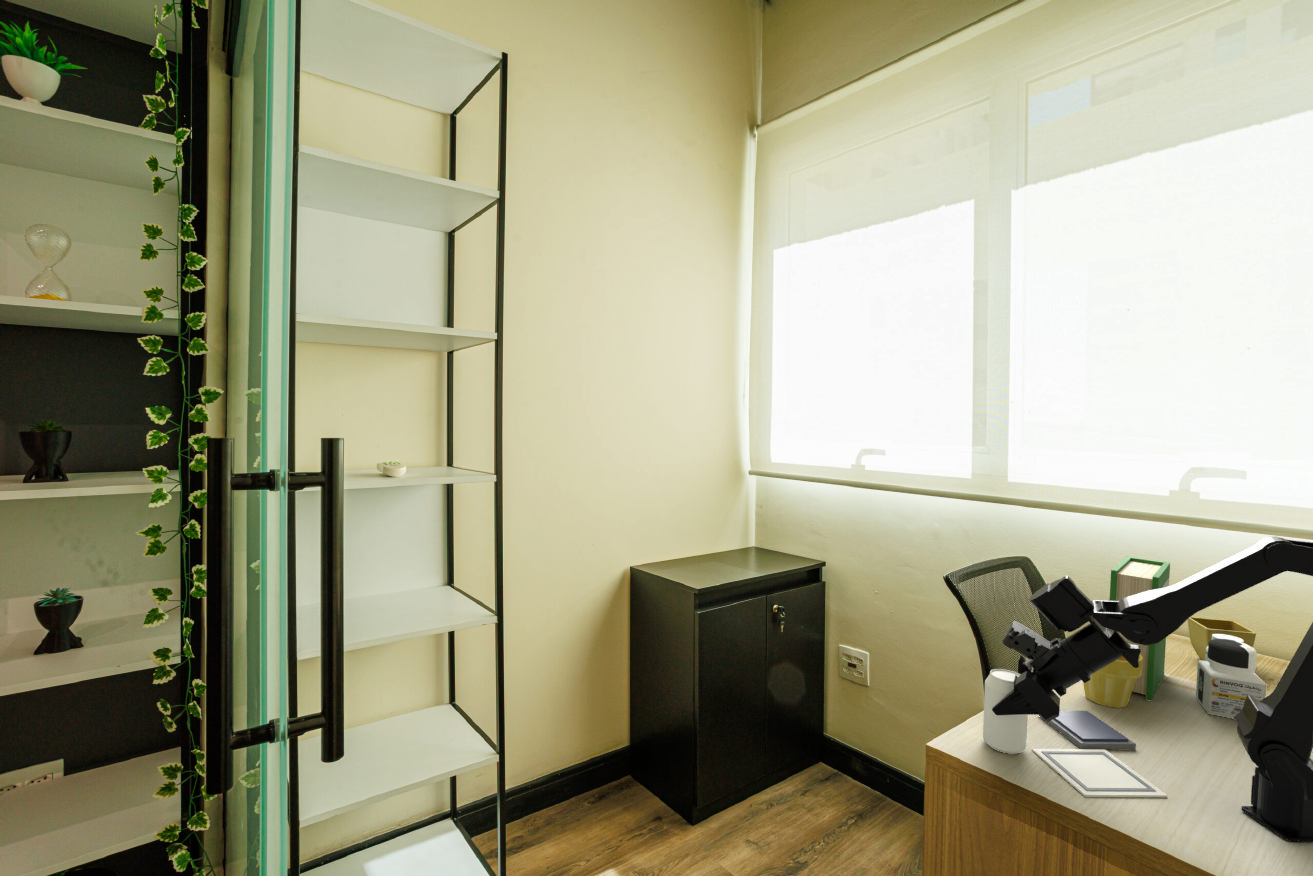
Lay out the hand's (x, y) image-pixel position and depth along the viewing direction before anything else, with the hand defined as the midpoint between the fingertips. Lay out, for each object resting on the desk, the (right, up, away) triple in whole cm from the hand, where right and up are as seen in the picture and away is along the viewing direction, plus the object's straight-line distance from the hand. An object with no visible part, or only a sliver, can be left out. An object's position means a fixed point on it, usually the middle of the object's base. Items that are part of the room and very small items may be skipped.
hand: (995, 704), depth 101 cm
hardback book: (+43, -7, +26) cm, 51 cm away
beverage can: (+1, -7, -1) cm, 7 cm away
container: (+51, -7, +13) cm, 53 cm away
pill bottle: (+57, -7, +22) cm, 62 cm away
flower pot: (+69, -7, +36) cm, 78 cm away
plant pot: (+31, -7, +17) cm, 36 cm away
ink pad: (+18, -7, +5) cm, 20 cm away
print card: (+11, -7, -7) cm, 15 cm away
